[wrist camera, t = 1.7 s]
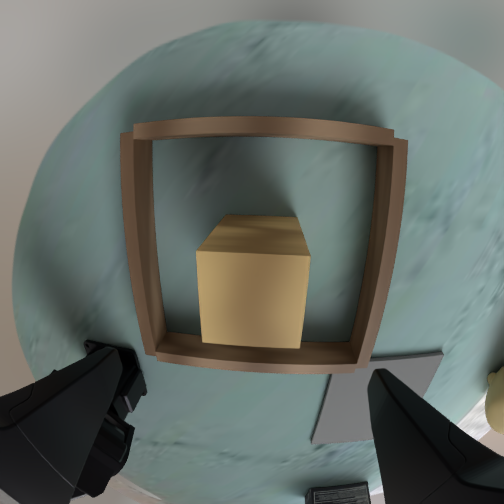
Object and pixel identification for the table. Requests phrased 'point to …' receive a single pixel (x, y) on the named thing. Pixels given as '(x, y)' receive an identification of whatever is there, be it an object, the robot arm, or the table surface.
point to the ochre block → (253, 282)
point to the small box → (339, 494)
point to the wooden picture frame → (247, 357)
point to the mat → (356, 398)
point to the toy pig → (495, 401)
